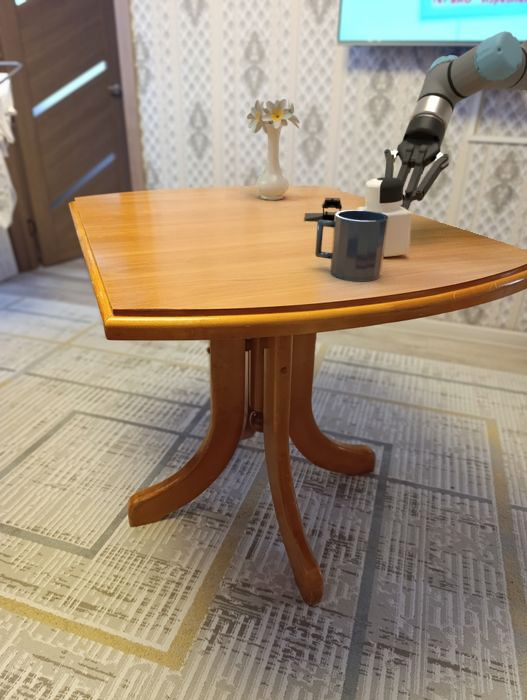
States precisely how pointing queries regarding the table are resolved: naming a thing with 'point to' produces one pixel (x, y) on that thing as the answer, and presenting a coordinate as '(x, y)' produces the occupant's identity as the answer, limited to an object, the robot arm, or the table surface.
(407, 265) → the table surface
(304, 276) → the table surface
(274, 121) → the flower vase
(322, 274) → the table surface
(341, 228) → the mug
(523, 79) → the robot arm
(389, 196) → the container
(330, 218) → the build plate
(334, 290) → the table surface
